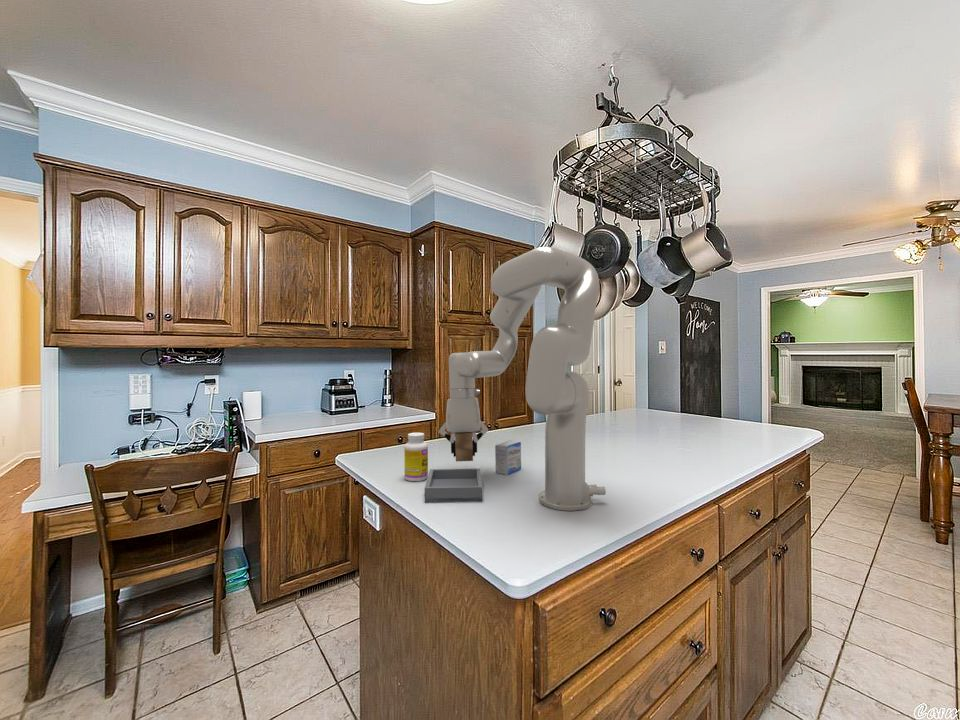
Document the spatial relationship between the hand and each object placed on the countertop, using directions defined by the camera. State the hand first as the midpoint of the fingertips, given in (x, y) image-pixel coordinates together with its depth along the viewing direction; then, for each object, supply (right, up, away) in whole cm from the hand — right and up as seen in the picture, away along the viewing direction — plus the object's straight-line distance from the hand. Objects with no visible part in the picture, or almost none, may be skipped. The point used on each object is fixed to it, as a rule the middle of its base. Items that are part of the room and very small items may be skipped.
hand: (464, 454), depth 122 cm
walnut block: (0, -1, 0) cm, 1 cm away
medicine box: (+13, -6, +3) cm, 15 cm away
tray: (-2, -6, -14) cm, 16 cm away
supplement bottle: (-14, -6, -4) cm, 15 cm away
